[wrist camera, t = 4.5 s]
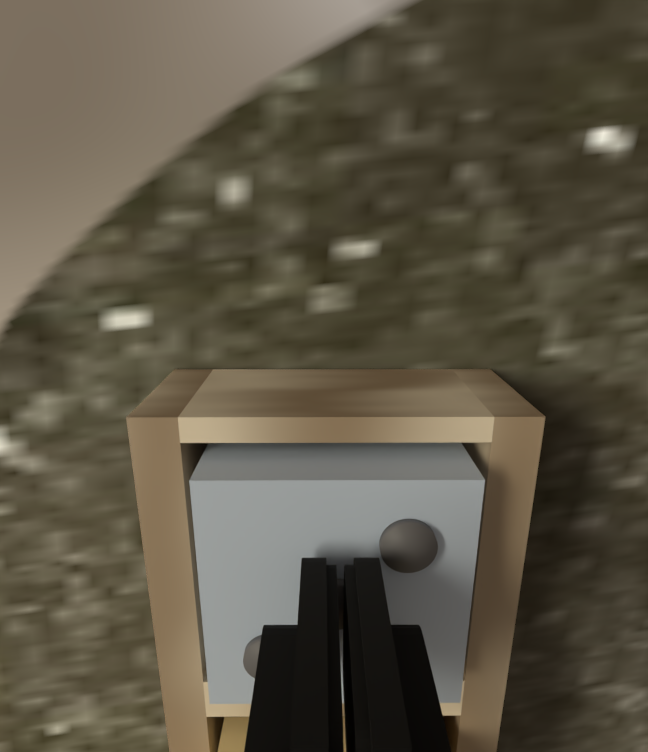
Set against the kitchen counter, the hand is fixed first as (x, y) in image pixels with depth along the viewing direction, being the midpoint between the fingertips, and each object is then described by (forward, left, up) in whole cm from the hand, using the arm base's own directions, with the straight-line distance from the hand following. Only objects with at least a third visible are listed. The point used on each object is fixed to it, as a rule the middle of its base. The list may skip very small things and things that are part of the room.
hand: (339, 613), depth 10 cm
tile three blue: (0, 0, -4) cm, 4 cm away
